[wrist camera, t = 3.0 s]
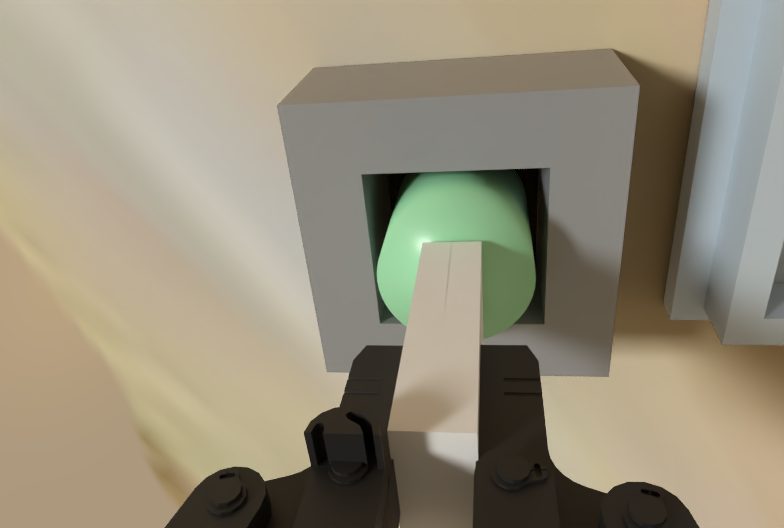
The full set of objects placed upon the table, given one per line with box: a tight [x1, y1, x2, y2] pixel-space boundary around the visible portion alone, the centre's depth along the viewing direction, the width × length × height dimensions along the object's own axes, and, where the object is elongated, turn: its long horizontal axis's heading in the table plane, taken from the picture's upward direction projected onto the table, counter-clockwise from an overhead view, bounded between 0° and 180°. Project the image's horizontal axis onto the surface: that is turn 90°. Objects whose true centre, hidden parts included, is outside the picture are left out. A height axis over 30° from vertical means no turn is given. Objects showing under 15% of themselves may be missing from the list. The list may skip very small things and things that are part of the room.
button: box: [377, 169, 536, 339], centre depth 18 cm, size 4×4×4 cm
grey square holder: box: [277, 49, 640, 377], centre depth 19 cm, size 9×9×4 cm
